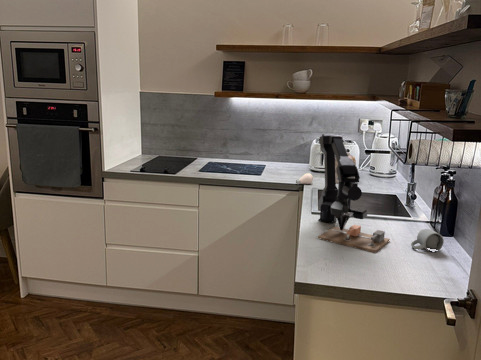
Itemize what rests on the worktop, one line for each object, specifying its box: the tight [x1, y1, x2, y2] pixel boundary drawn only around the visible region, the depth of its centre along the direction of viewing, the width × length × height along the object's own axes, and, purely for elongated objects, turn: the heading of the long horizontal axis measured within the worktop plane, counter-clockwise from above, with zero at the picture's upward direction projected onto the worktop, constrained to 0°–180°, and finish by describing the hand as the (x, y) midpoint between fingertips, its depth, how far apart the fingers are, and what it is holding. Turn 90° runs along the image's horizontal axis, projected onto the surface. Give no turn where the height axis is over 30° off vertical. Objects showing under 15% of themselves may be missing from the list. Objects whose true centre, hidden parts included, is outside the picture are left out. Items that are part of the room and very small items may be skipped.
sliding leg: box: [347, 224, 362, 239], centre depth 194 cm, size 3×10×3 cm, turn 145°
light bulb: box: [295, 172, 314, 185], centre depth 286 cm, size 7×7×11 cm
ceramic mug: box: [410, 228, 445, 252], centre depth 186 cm, size 11×8×8 cm
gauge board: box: [317, 225, 391, 253], centre depth 194 cm, size 24×16×4 cm, turn 55°
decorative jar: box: [335, 151, 357, 184], centre depth 294 cm, size 12×12×18 cm
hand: (341, 229), depth 200 cm, fingers closed
